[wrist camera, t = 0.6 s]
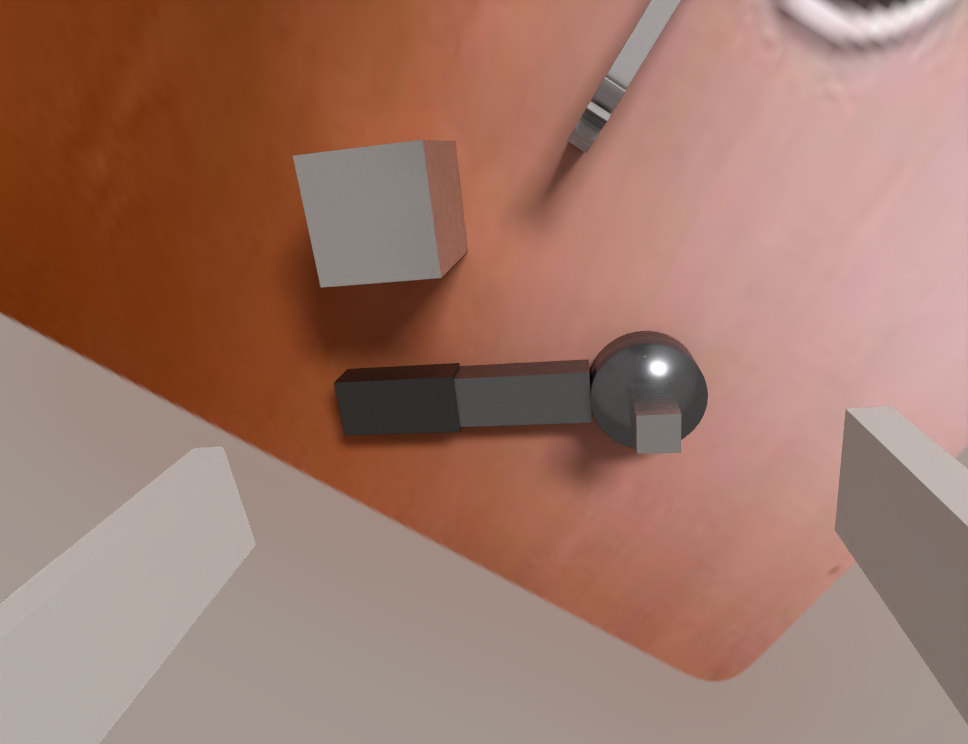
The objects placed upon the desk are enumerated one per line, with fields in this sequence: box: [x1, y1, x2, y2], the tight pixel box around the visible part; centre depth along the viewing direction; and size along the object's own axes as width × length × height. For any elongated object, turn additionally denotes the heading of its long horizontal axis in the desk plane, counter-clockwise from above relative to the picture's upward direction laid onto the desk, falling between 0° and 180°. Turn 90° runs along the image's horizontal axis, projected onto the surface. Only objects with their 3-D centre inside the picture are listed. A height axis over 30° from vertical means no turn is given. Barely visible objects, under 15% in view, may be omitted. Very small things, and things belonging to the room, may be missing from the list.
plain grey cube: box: [293, 140, 468, 288], centre depth 28 cm, size 6×6×7 cm
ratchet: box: [334, 331, 708, 454], centre depth 31 cm, size 6×20×6 cm, turn 96°
